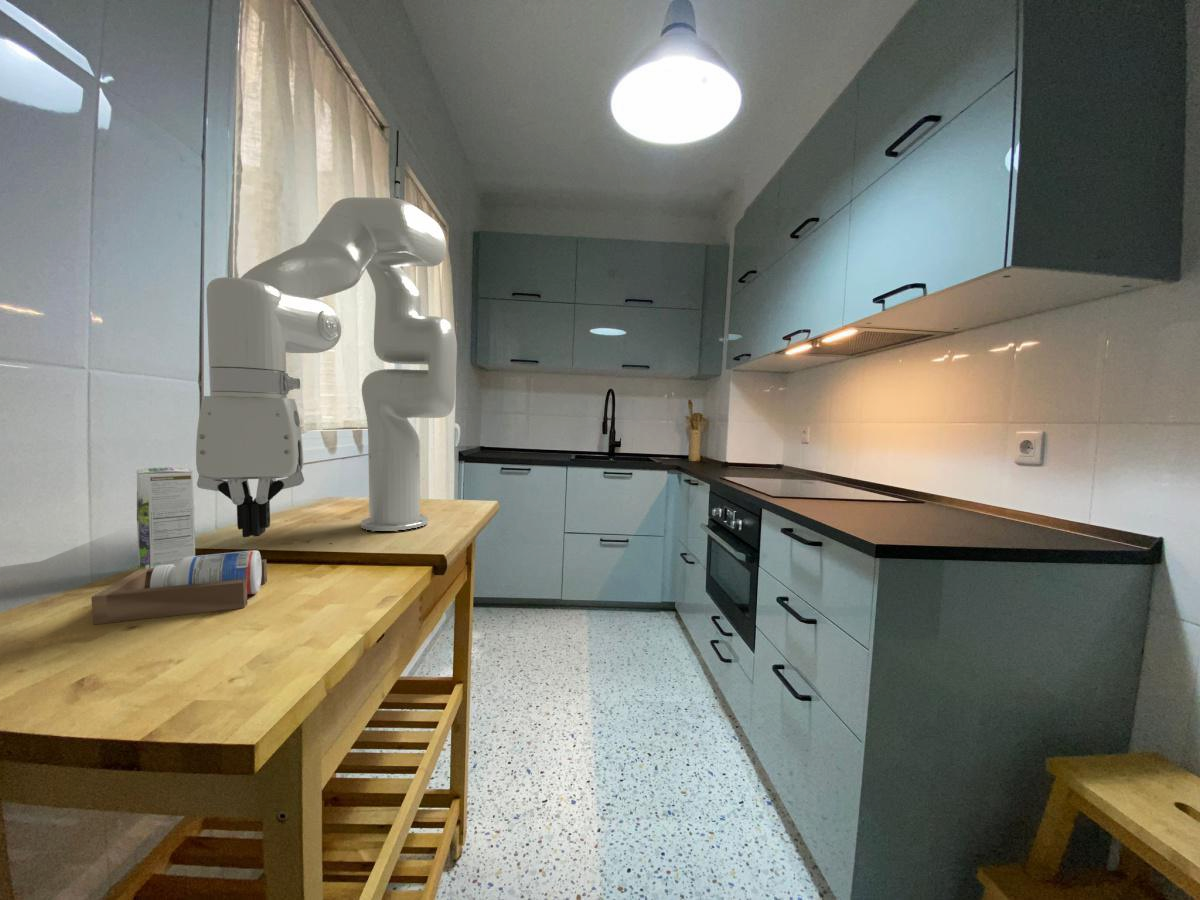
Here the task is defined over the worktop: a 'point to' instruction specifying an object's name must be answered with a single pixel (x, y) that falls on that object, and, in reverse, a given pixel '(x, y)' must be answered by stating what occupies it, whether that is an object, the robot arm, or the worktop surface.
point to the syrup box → (165, 516)
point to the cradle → (166, 598)
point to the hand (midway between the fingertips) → (254, 533)
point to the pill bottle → (211, 570)
